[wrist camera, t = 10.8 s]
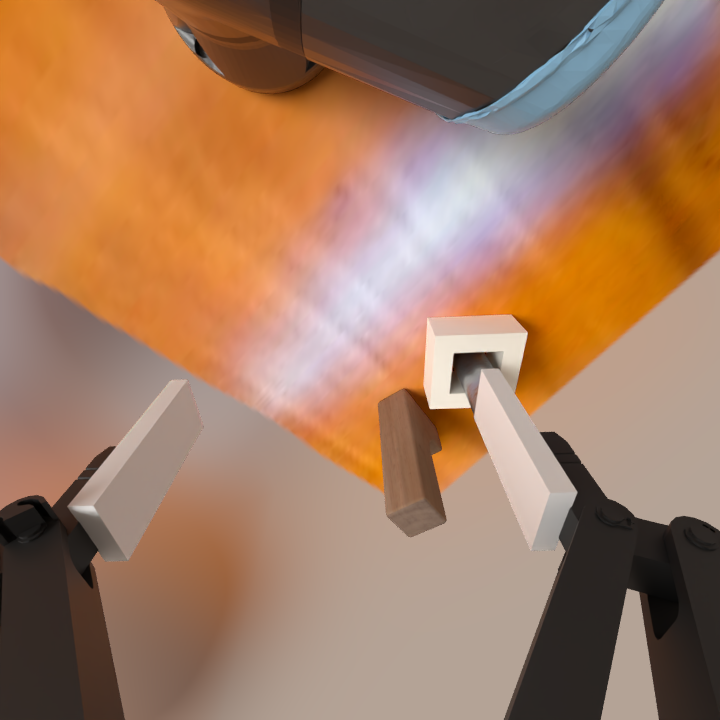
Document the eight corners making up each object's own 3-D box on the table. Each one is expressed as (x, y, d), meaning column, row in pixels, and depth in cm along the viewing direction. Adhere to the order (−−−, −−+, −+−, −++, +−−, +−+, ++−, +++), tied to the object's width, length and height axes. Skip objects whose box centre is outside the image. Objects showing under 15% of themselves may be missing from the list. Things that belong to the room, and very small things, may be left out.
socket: (427, 317, 43) (435, 336, 39) (511, 314, 43) (527, 332, 39) (423, 385, 48) (429, 409, 44) (498, 383, 48) (511, 406, 44)
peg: (447, 366, 47) (485, 462, 32) (450, 338, 45) (492, 427, 30) (478, 365, 47) (531, 460, 32) (483, 337, 45) (541, 425, 30)
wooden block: (437, 428, 52) (470, 546, 37) (410, 441, 53) (431, 560, 38) (404, 386, 48) (425, 498, 33) (376, 402, 50) (384, 516, 34)
